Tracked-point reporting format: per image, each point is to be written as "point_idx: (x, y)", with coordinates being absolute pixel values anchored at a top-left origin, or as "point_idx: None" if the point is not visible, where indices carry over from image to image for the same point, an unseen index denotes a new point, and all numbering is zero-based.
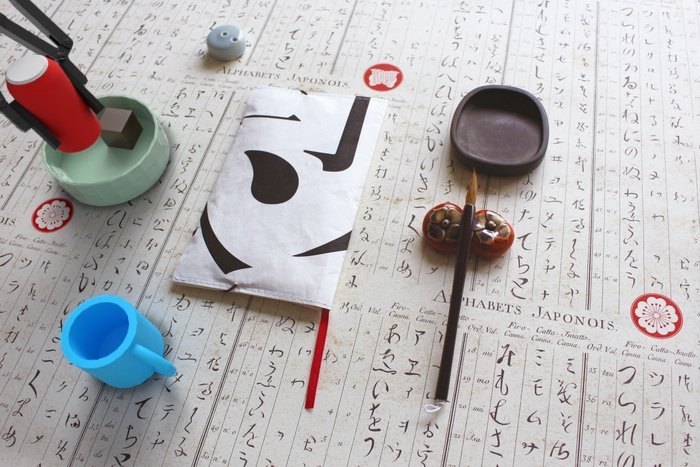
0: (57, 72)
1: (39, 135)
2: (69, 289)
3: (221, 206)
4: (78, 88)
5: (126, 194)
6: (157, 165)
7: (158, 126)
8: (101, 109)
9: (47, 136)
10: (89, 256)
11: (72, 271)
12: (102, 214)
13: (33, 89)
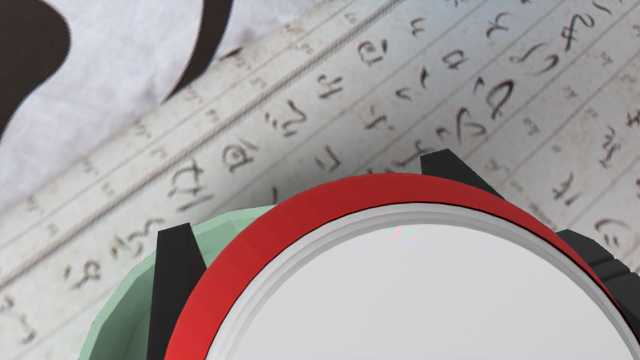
0: (202, 283)
1: None
2: (532, 101)
3: (144, 71)
4: None
5: None
6: None
7: (95, 321)
8: (179, 225)
9: (469, 176)
10: (466, 148)
11: (513, 137)
12: None
13: (456, 189)
